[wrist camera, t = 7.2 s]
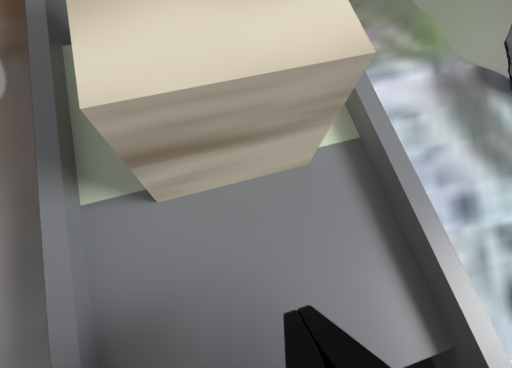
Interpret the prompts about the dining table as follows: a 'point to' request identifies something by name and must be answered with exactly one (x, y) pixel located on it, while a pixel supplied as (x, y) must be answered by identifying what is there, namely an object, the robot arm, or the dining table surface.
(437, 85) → the dining table surface
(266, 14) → the birch block
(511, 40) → the stone block
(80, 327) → the grey shallow rectangular tray
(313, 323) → the robot arm
